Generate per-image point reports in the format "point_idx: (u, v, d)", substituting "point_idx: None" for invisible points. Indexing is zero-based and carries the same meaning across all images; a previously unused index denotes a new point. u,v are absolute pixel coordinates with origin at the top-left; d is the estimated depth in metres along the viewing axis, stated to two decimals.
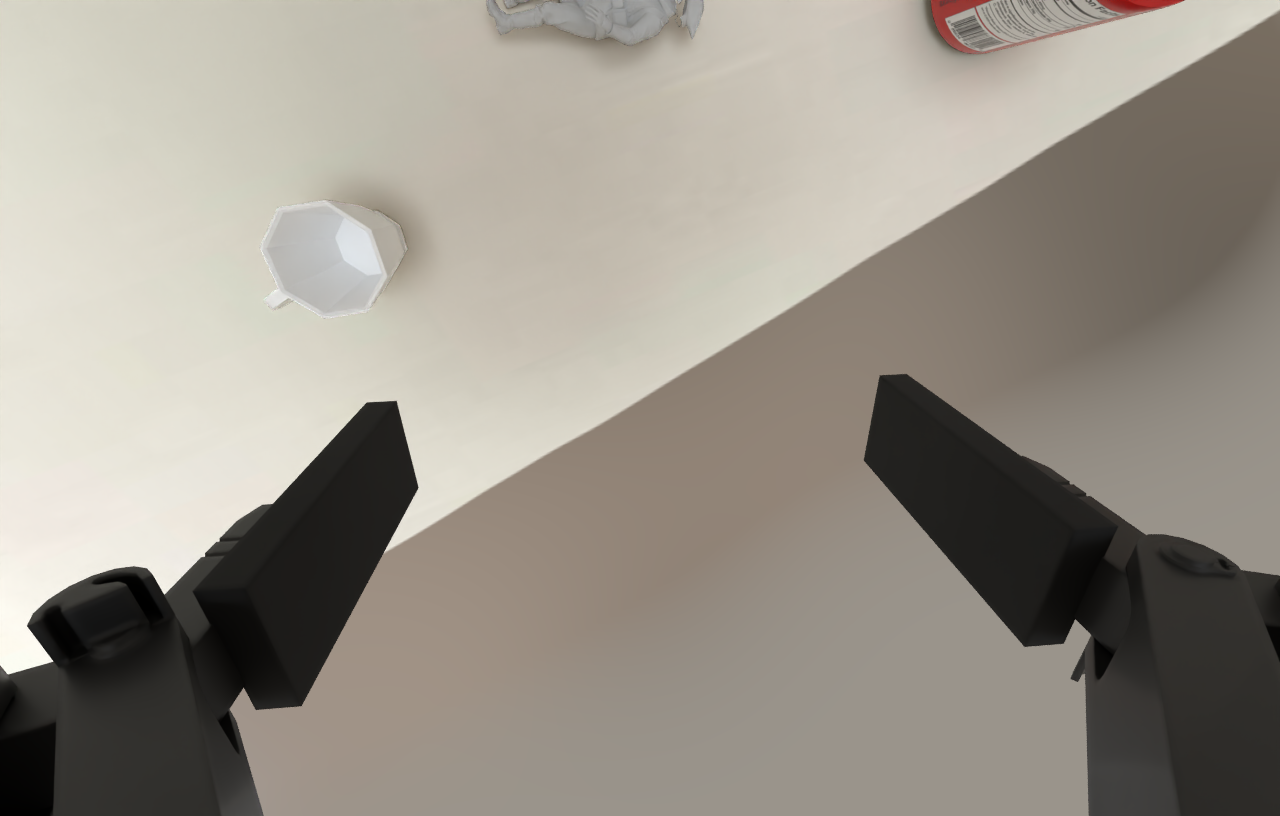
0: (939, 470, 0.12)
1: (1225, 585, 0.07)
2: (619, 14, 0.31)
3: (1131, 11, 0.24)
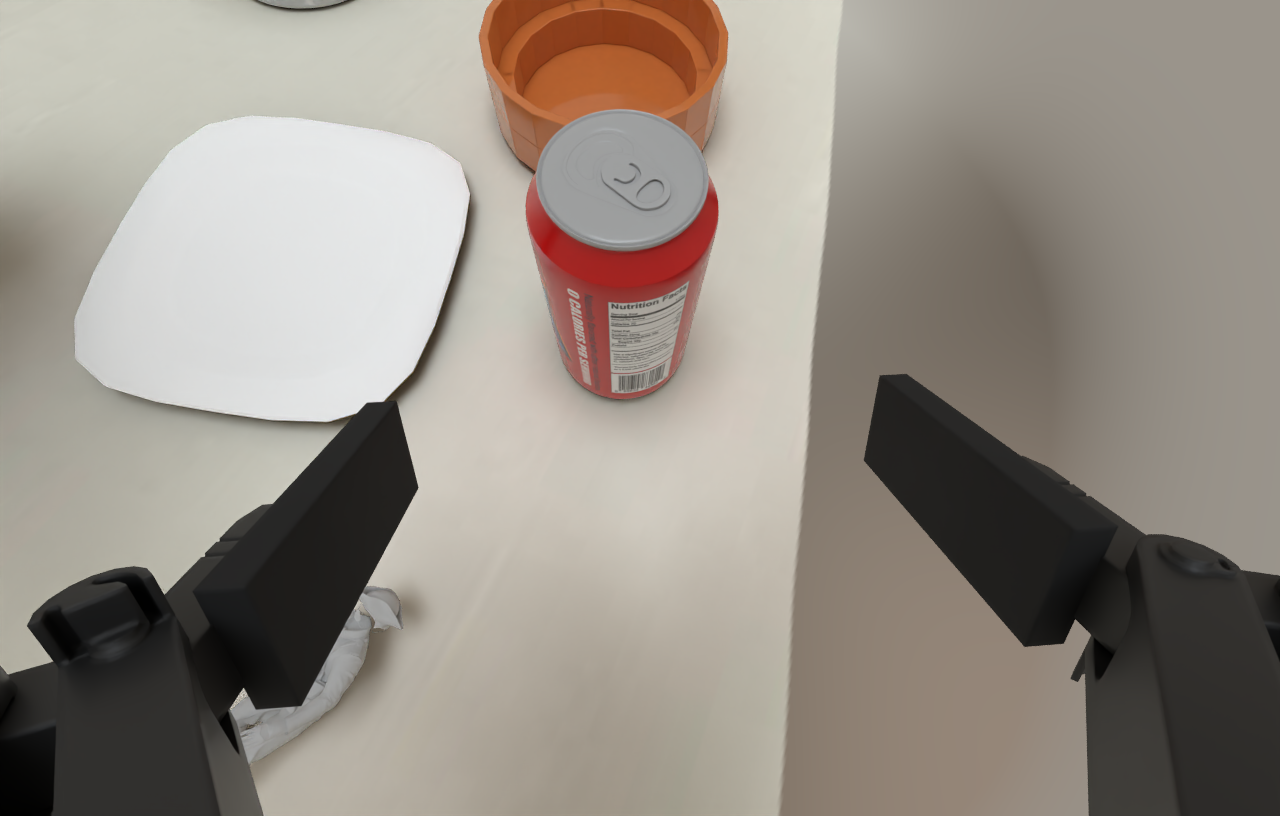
0: (939, 470, 0.12)
1: (1225, 585, 0.07)
2: None
3: (687, 276, 0.21)
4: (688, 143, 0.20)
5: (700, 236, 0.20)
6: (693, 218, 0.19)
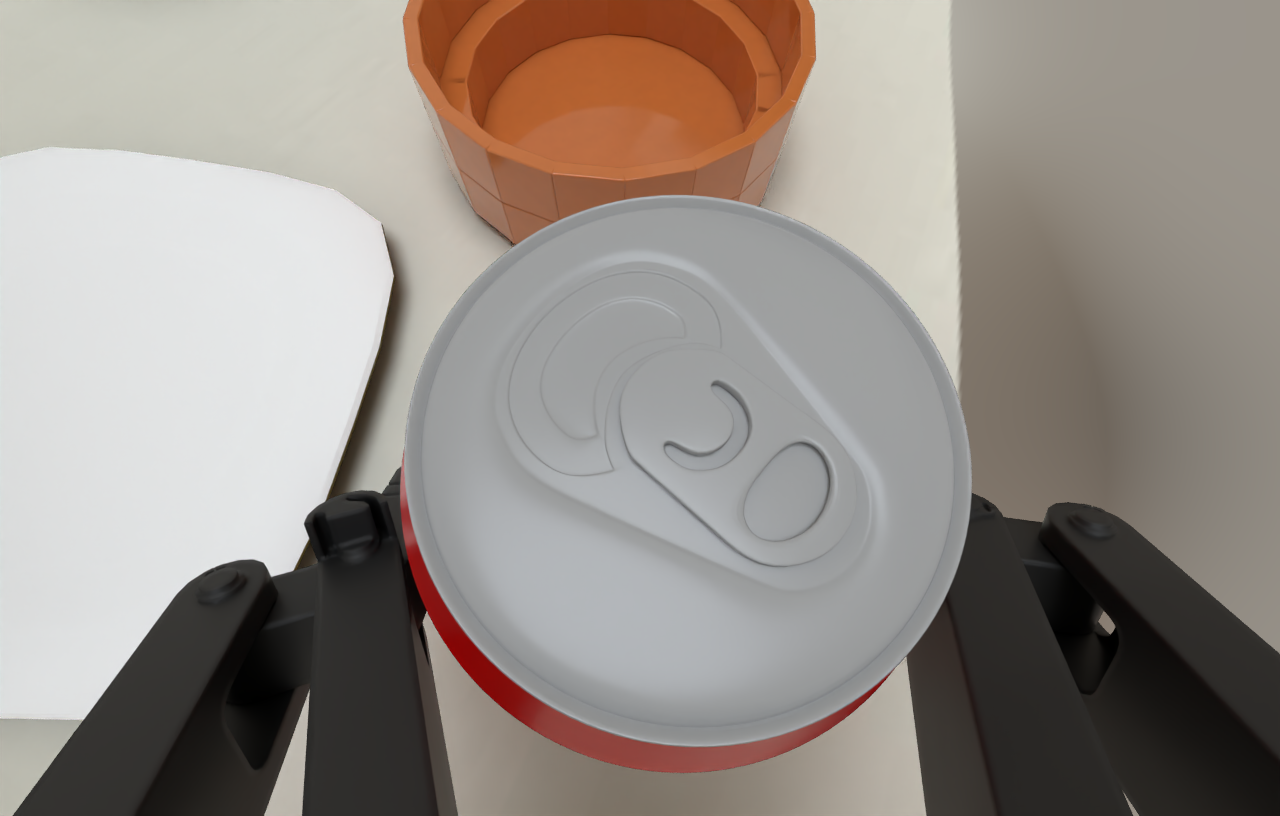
0: None
1: (989, 525, 0.09)
2: None
3: None
4: (884, 303, 0.07)
5: None
6: None
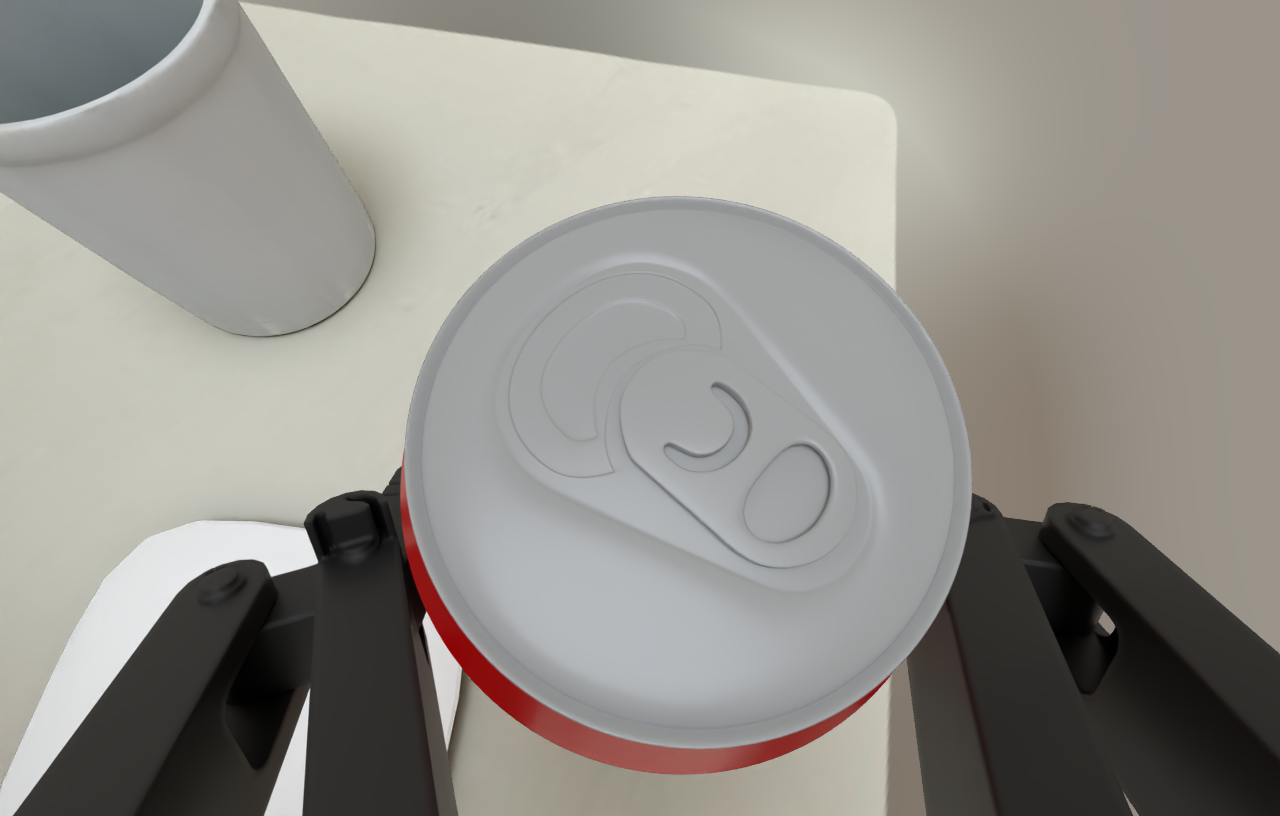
0: None
1: (989, 525, 0.09)
2: None
3: None
4: (884, 305, 0.07)
5: None
6: None
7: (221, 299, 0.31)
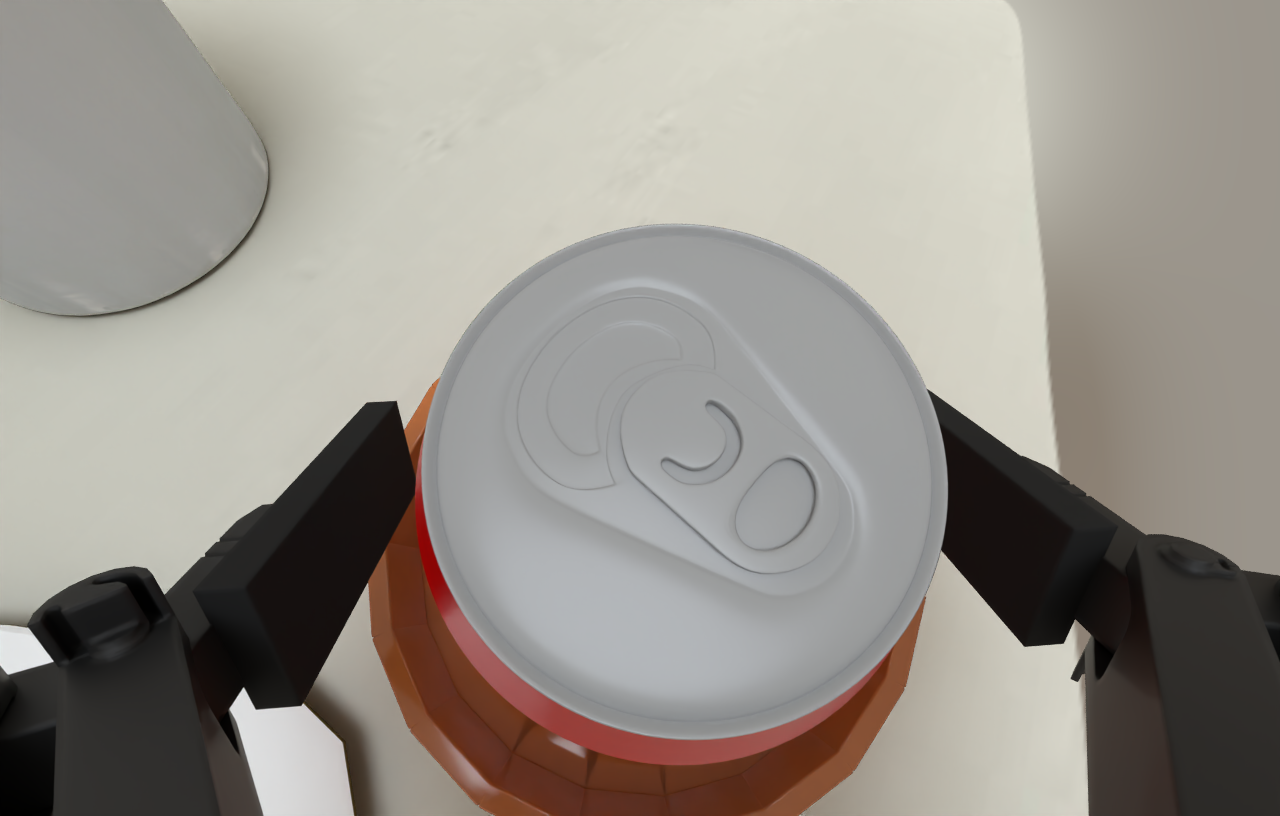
0: None
1: (1225, 585, 0.07)
2: None
3: None
4: (869, 326, 0.07)
5: None
6: (919, 604, 0.06)
7: None
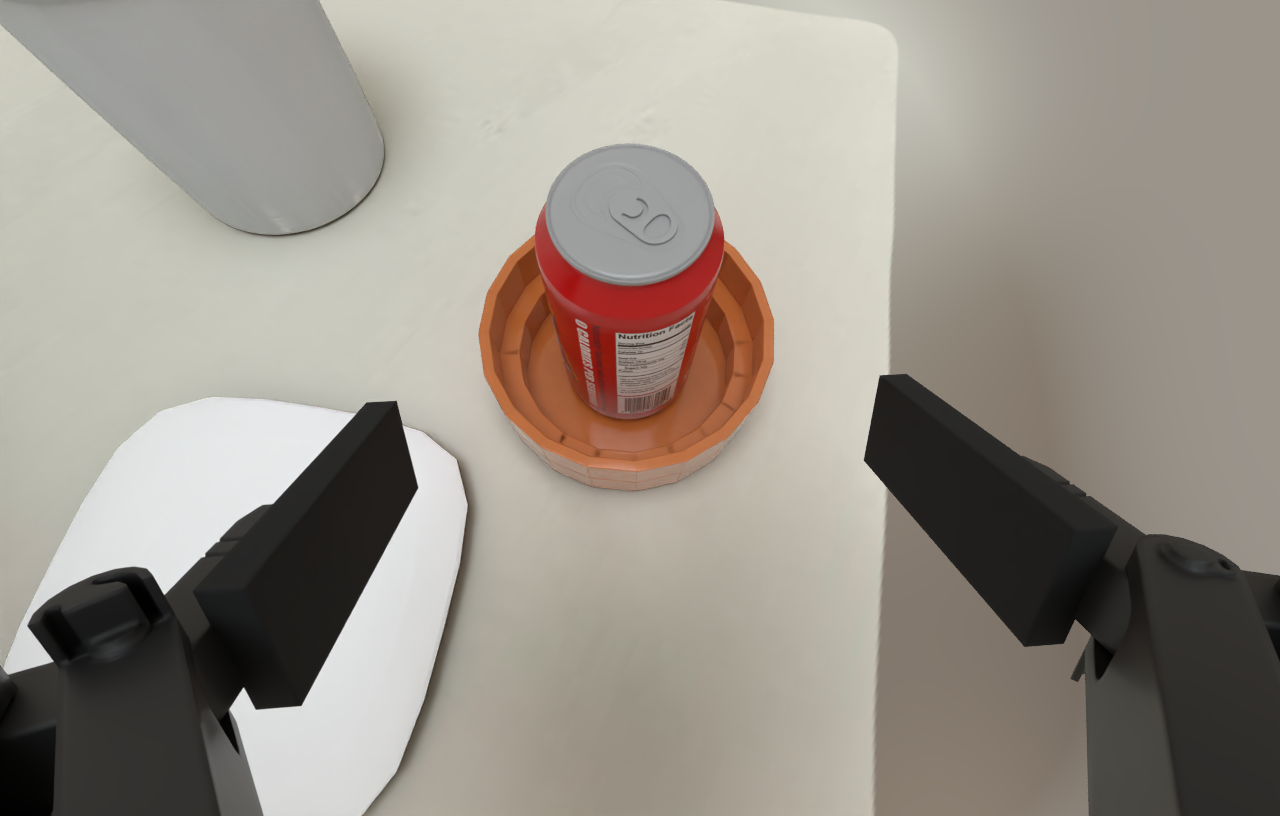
0: (939, 470, 0.12)
1: (1225, 585, 0.07)
2: None
3: (694, 307, 0.21)
4: (694, 177, 0.21)
5: (706, 269, 0.21)
6: (699, 253, 0.19)
7: (234, 183, 0.32)
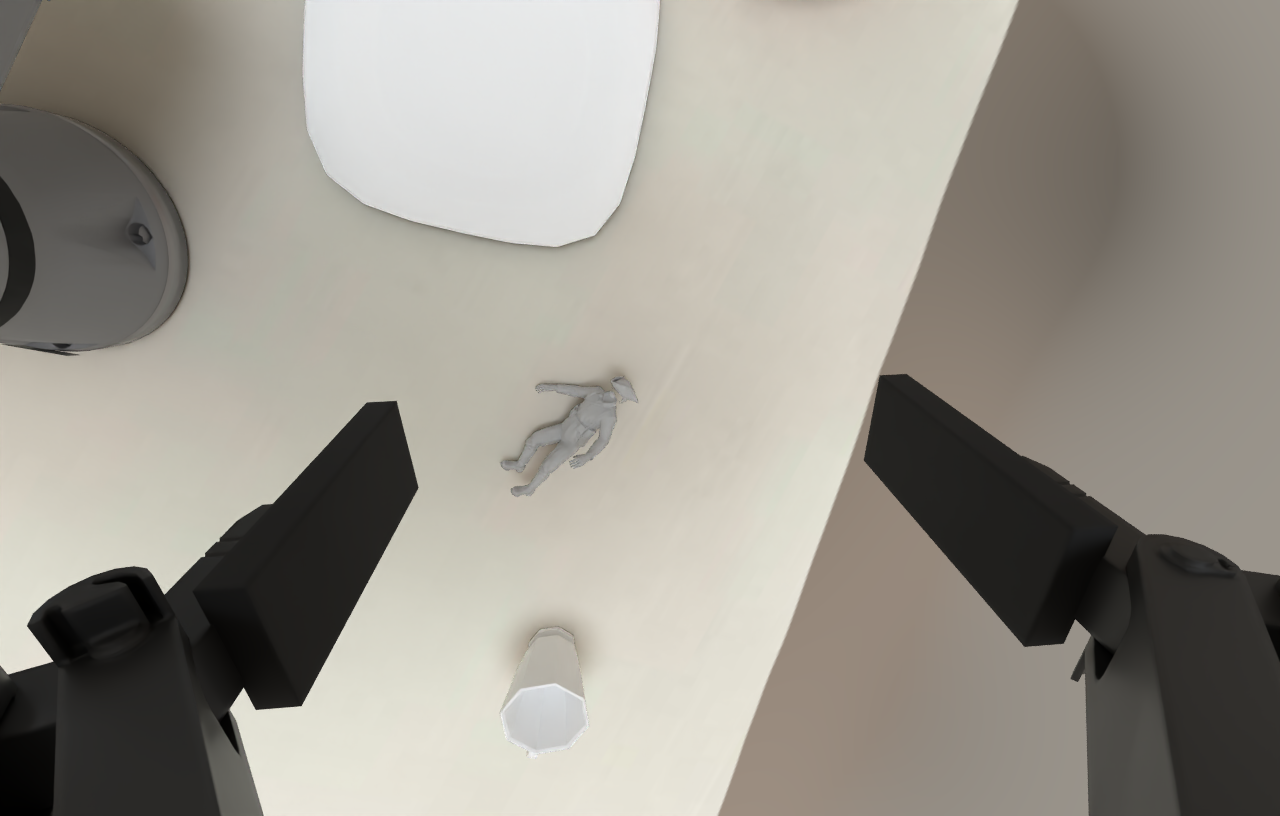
0: (939, 470, 0.12)
1: (1225, 585, 0.07)
2: (586, 433, 0.40)
3: None
4: None
5: None
6: None
7: None
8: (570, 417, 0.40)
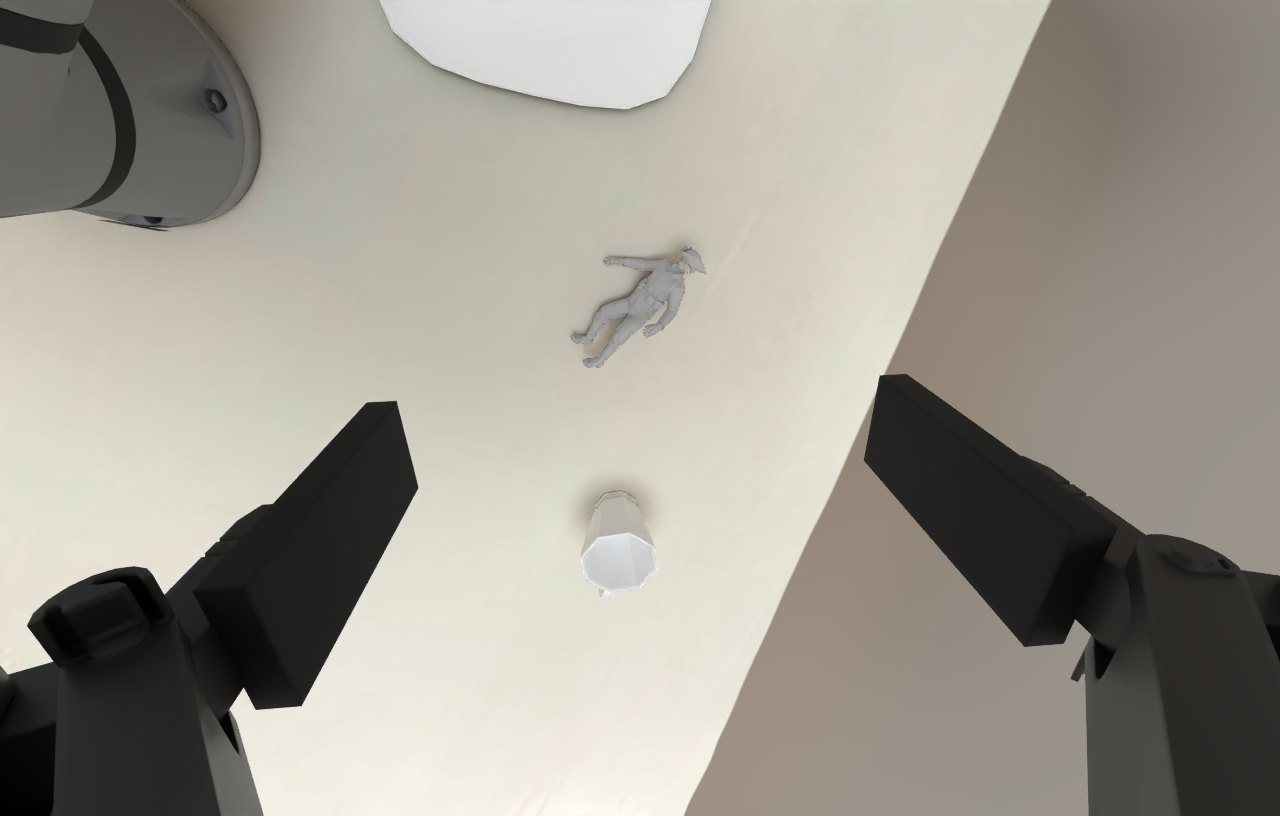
0: (939, 470, 0.12)
1: (1225, 585, 0.07)
2: (655, 304, 0.41)
3: None
4: None
5: None
6: None
7: None
8: (638, 290, 0.42)
